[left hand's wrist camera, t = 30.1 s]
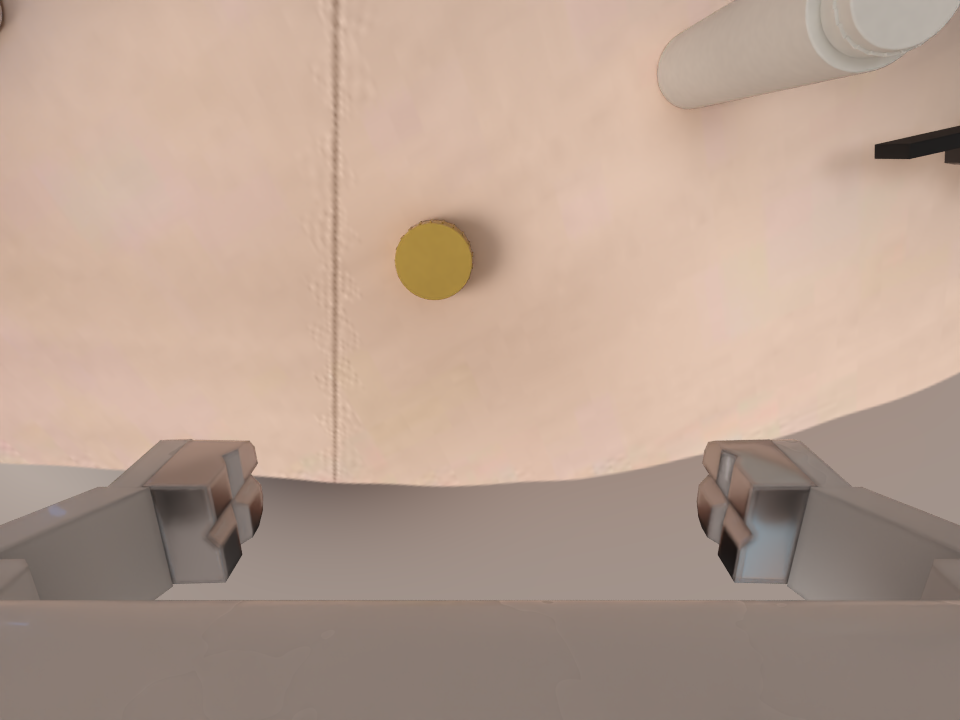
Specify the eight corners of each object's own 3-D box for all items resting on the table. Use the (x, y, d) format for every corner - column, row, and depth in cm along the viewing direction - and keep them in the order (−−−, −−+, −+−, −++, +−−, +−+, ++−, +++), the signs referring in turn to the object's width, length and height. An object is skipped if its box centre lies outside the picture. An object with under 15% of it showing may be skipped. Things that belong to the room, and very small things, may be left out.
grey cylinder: (681, 124, 35) (874, 96, 18) (642, 63, 34) (809, -30, 17) (743, 75, 34) (1010, -4, 17) (705, 10, 33) (951, -146, 16)
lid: (420, 203, 37) (417, 206, 35) (487, 244, 38) (488, 248, 36) (384, 269, 39) (379, 275, 37) (449, 307, 40) (448, 314, 38)
